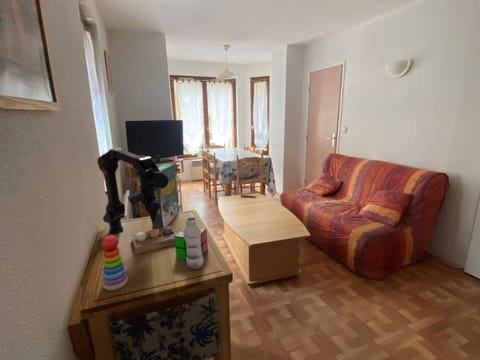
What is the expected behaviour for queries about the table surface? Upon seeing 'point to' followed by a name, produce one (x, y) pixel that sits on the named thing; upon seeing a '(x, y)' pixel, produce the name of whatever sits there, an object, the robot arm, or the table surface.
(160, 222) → the cake mix box
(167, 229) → the charcoal button
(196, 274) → the table surface
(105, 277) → the stacking toy
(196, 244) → the plastic bottle
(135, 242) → the panel
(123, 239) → the table surface
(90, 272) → the table surface
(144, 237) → the cream button
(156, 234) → the terracotta button
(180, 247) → the puzzle cube
